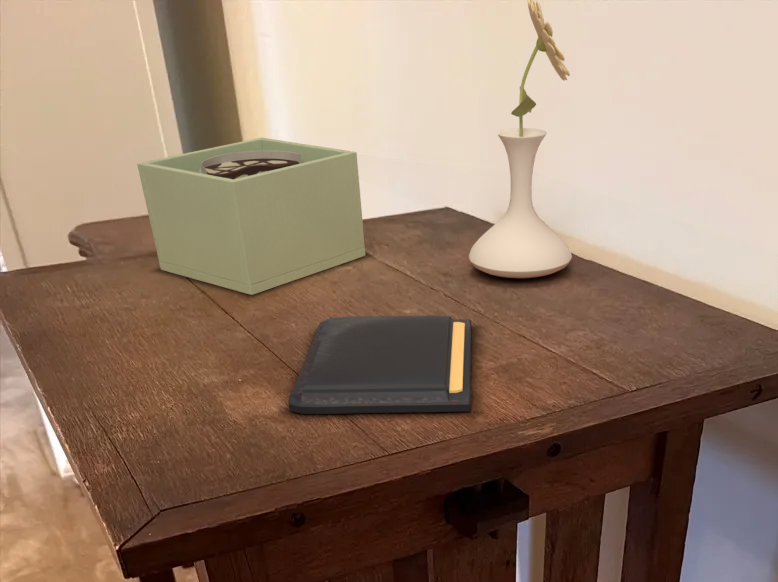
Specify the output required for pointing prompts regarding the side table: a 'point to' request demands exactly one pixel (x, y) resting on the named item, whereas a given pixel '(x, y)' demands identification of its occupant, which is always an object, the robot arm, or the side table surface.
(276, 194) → the bin
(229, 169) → the food container
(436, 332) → the wallet
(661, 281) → the side table surface
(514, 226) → the flower in vase
